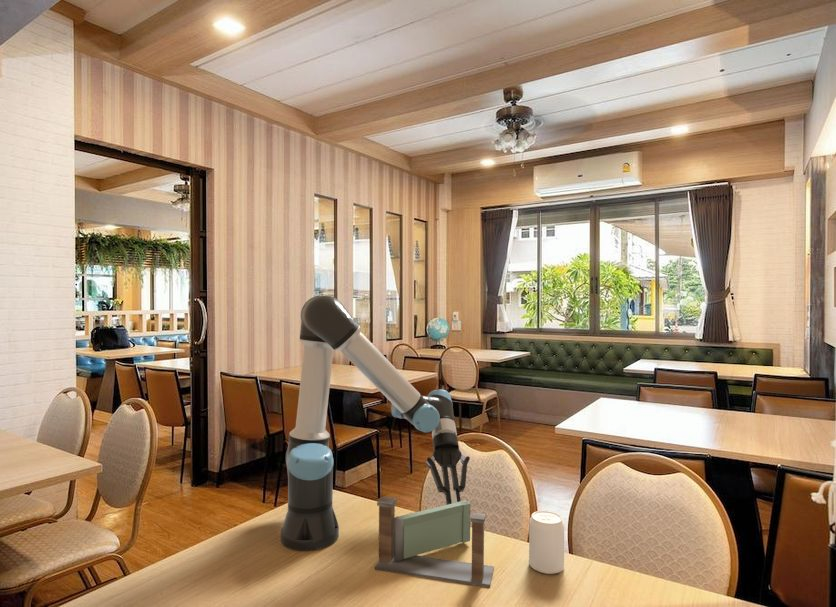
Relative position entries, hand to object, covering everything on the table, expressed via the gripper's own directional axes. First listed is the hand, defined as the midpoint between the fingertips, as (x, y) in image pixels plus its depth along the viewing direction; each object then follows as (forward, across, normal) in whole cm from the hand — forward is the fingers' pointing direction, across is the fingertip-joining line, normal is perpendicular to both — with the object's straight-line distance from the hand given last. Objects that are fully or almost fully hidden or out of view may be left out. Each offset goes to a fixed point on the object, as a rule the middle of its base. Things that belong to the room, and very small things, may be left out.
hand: (455, 516), depth 135 cm
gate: (+9, +8, +3) cm, 12 cm away
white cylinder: (+16, -18, +9) cm, 26 cm away
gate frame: (+15, +8, +7) cm, 19 cm away
